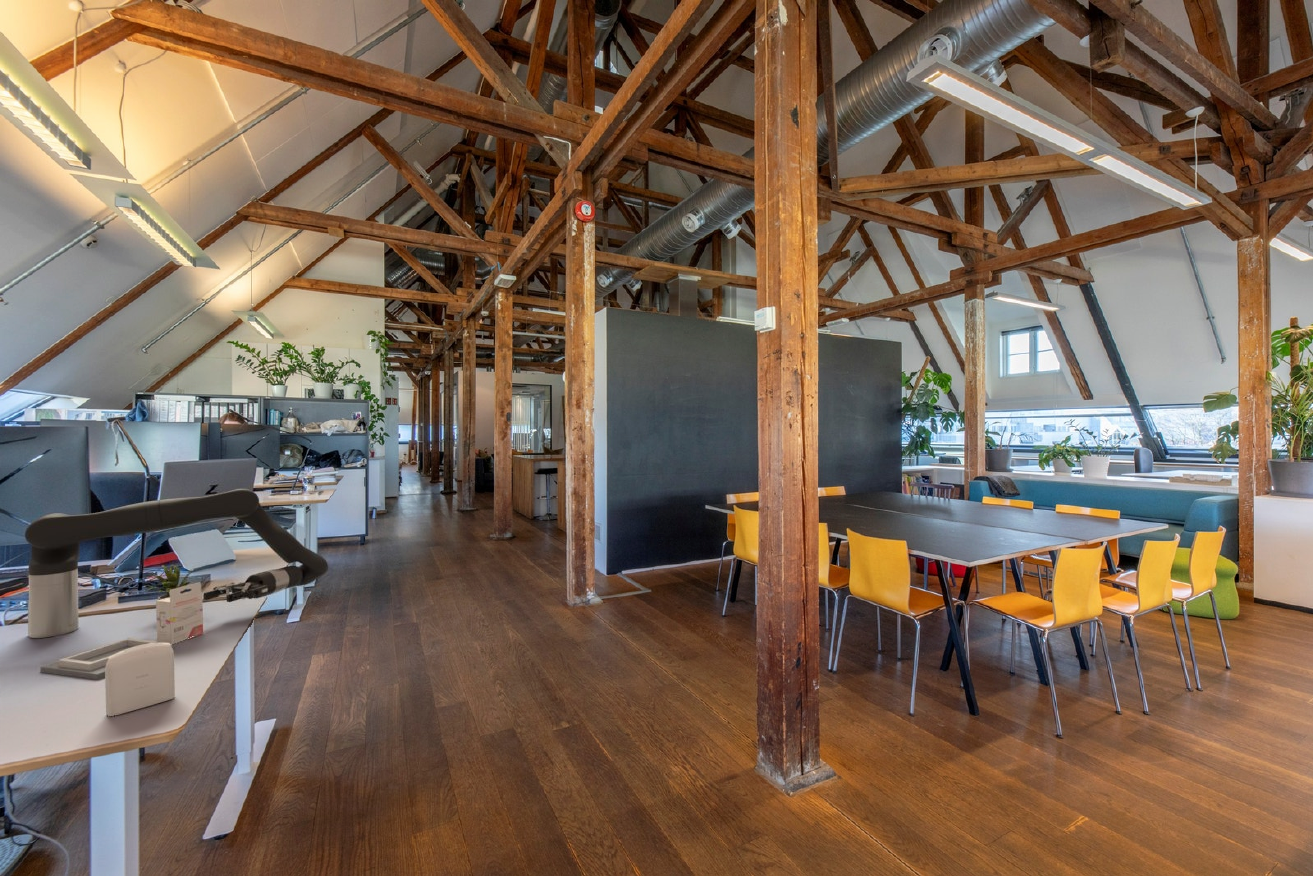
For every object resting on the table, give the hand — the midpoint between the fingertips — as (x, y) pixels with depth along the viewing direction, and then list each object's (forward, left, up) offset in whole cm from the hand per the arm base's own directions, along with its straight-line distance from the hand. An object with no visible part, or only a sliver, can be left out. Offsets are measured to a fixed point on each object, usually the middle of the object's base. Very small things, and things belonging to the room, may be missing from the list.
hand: (215, 597), depth 156 cm
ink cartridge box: (0, -10, -9) cm, 13 cm away
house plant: (-24, +4, -9) cm, 26 cm away
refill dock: (-1, -25, -8) cm, 26 cm away
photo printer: (+32, -40, -9) cm, 51 cm away
